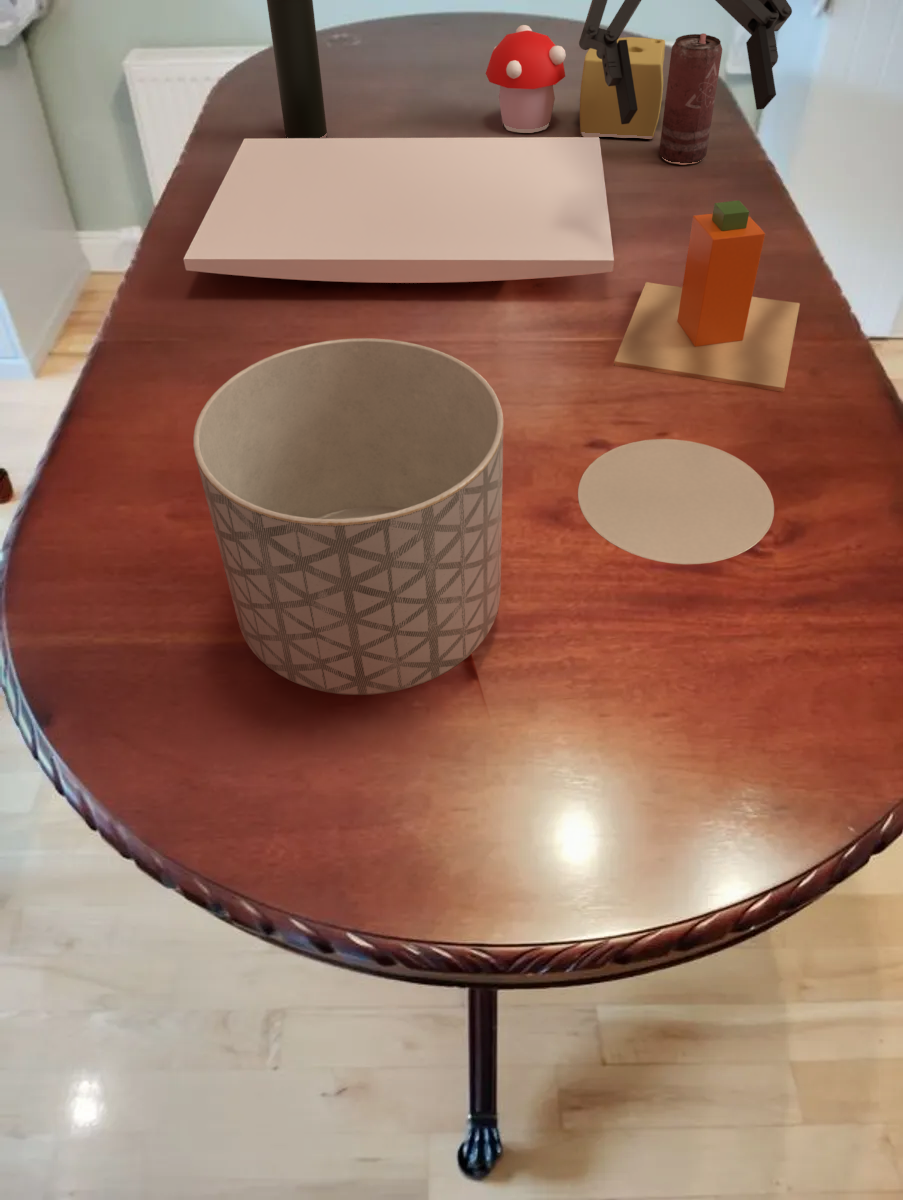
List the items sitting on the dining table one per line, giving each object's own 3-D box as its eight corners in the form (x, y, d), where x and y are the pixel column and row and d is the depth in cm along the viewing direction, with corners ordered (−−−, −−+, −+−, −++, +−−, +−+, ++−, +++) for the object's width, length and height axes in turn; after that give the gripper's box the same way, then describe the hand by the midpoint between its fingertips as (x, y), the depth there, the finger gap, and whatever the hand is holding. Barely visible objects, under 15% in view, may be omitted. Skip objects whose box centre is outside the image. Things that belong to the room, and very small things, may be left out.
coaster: (797, 311, 104) (800, 303, 103) (782, 396, 93) (784, 387, 92) (644, 290, 107) (645, 281, 107) (613, 369, 97) (614, 361, 96)
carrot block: (723, 314, 102) (746, 192, 93) (743, 340, 98) (769, 215, 89) (676, 321, 101) (695, 198, 92) (694, 347, 98) (716, 222, 88)
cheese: (585, 110, 143) (590, 33, 136) (661, 114, 142) (670, 36, 135) (576, 139, 136) (581, 59, 129) (656, 143, 135) (665, 63, 127)
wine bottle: (316, 126, 142) (286, -132, 120) (334, 139, 138) (306, -124, 117) (279, 135, 140) (242, -126, 118) (296, 149, 136) (261, -117, 115)
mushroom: (558, 142, 136) (564, 45, 127) (479, 138, 137) (479, 42, 129) (566, 112, 143) (571, 19, 134) (490, 109, 145) (491, 17, 136)
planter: (522, 554, 79) (530, 354, 66) (466, 746, 66) (462, 545, 53) (297, 520, 83) (262, 323, 70) (202, 695, 70) (137, 495, 57)
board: (596, 174, 128) (599, 137, 125) (610, 301, 106) (614, 260, 102) (250, 175, 131) (244, 138, 127) (192, 299, 108) (183, 259, 105)
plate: (782, 462, 86) (783, 457, 86) (761, 587, 76) (762, 582, 75) (600, 430, 90) (601, 425, 90) (556, 545, 80) (556, 540, 79)
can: (706, 148, 133) (724, 32, 123) (704, 168, 129) (722, 49, 119) (660, 145, 134) (675, 30, 124) (656, 164, 130) (670, 47, 120)
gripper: (770, -98, 99) (803, 115, 100) (527, -77, 96) (561, 141, 97) (806, -154, 92) (841, 75, 92) (543, -134, 89) (581, 103, 89)
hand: (698, 110), depth 94 cm, fingers open, 13 cm apart
